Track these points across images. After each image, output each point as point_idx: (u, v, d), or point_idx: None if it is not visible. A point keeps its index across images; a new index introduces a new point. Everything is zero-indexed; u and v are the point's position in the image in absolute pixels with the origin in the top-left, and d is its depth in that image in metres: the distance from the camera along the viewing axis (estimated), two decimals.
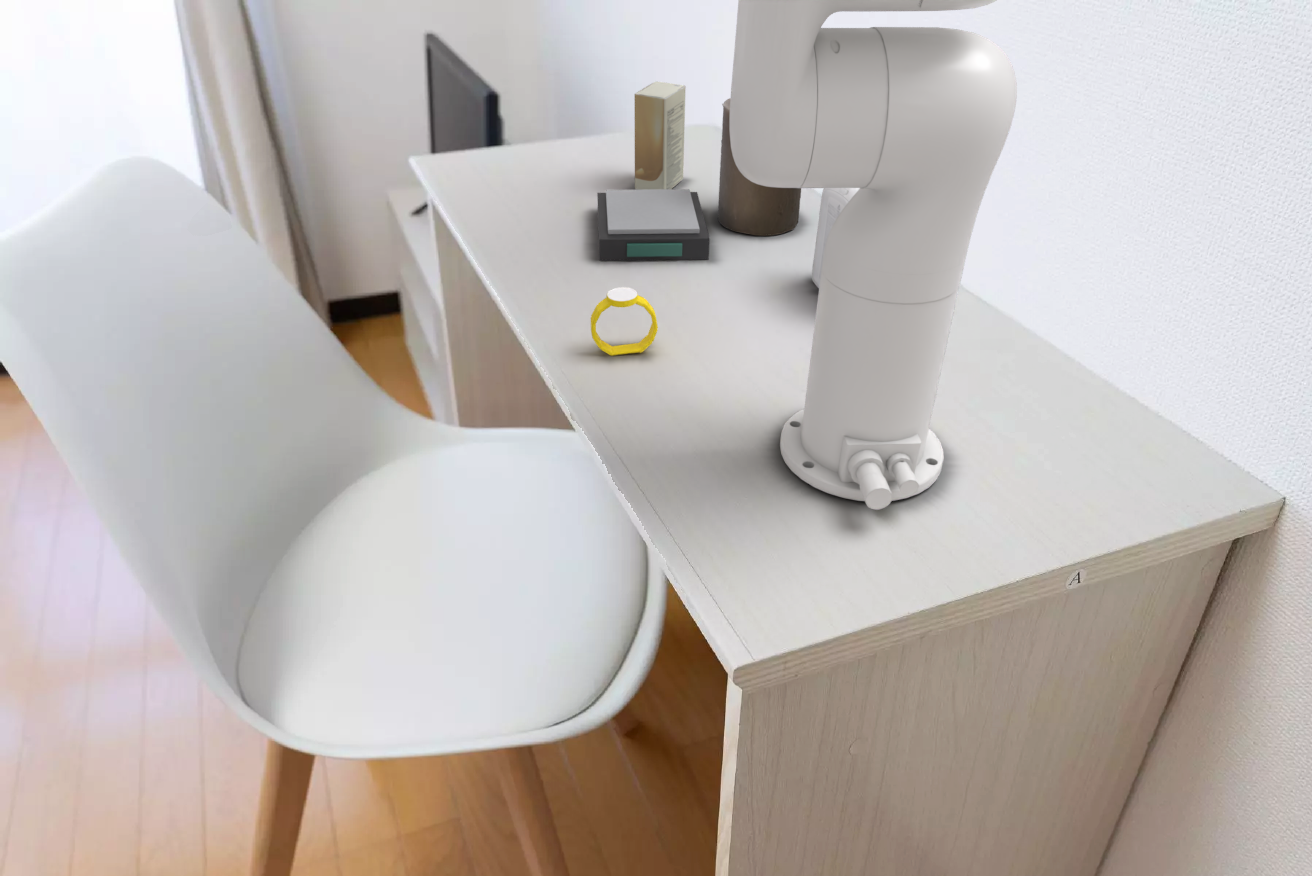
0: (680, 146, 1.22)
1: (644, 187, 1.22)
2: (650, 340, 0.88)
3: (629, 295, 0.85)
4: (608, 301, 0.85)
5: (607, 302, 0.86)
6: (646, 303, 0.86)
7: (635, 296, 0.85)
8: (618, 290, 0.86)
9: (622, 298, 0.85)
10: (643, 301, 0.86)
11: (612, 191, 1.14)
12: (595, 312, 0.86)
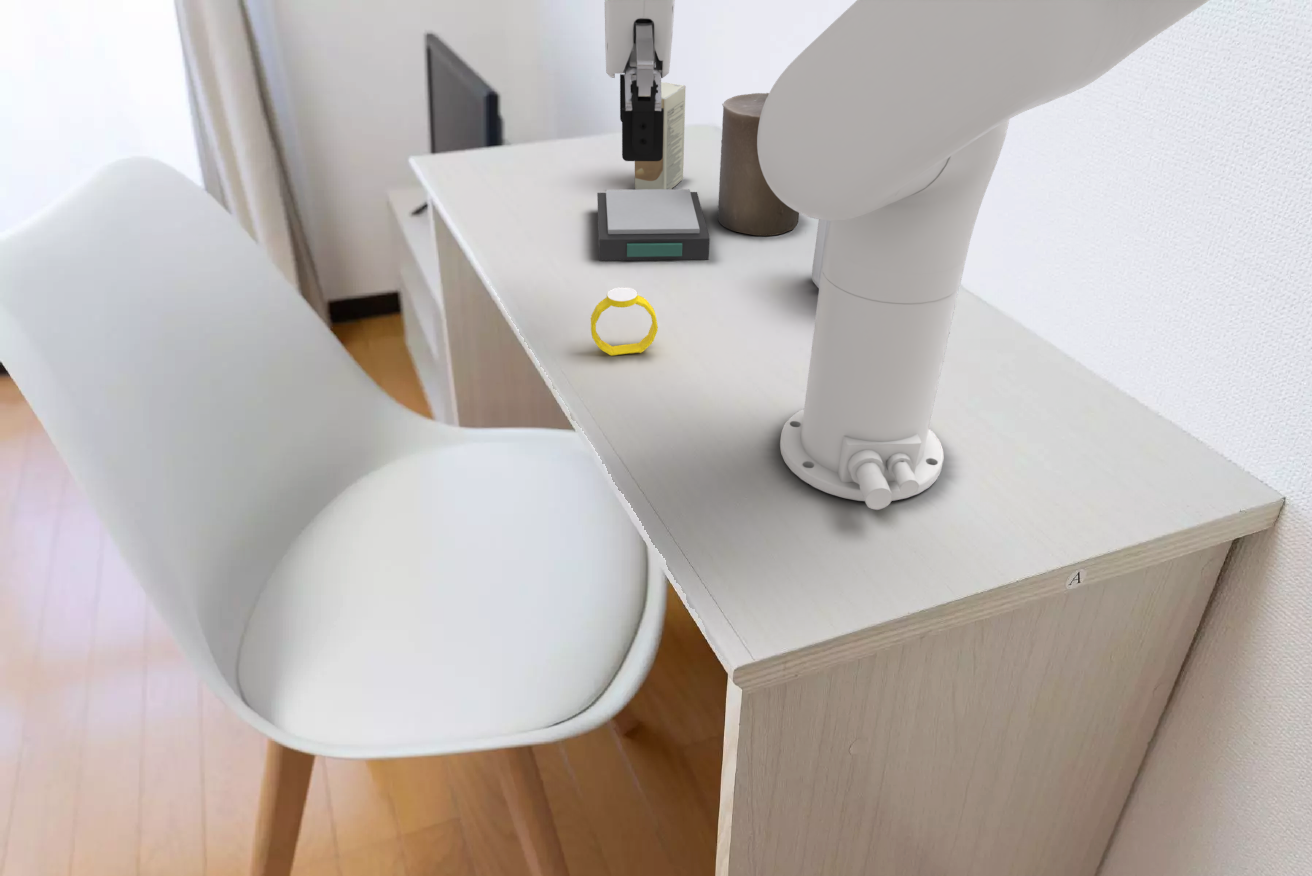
0: (680, 146, 1.22)
1: (644, 187, 1.22)
2: (650, 340, 0.88)
3: (629, 295, 0.85)
4: (608, 301, 0.85)
5: (607, 302, 0.86)
6: (646, 303, 0.86)
7: (635, 296, 0.85)
8: (618, 290, 0.86)
9: (622, 298, 0.85)
10: (644, 301, 0.86)
11: (612, 191, 1.14)
12: (595, 312, 0.86)
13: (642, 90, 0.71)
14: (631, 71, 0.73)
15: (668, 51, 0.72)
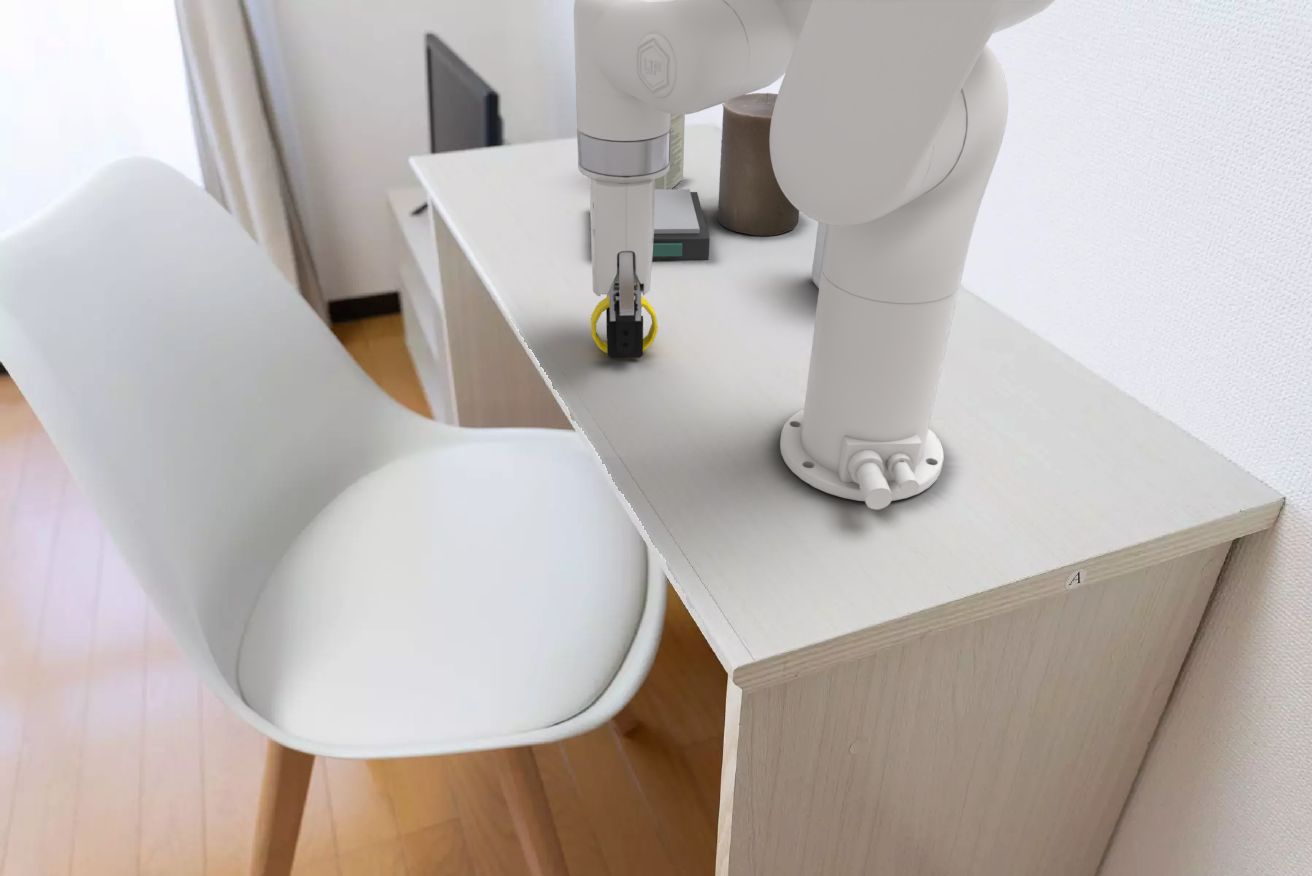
0: (680, 146, 1.22)
1: None
2: (650, 340, 0.88)
3: None
4: (608, 301, 0.85)
5: (607, 302, 0.86)
6: (646, 303, 0.86)
7: None
8: None
9: None
10: (644, 301, 0.86)
11: None
12: (595, 312, 0.86)
13: None
14: (615, 293, 0.83)
15: (648, 275, 0.80)
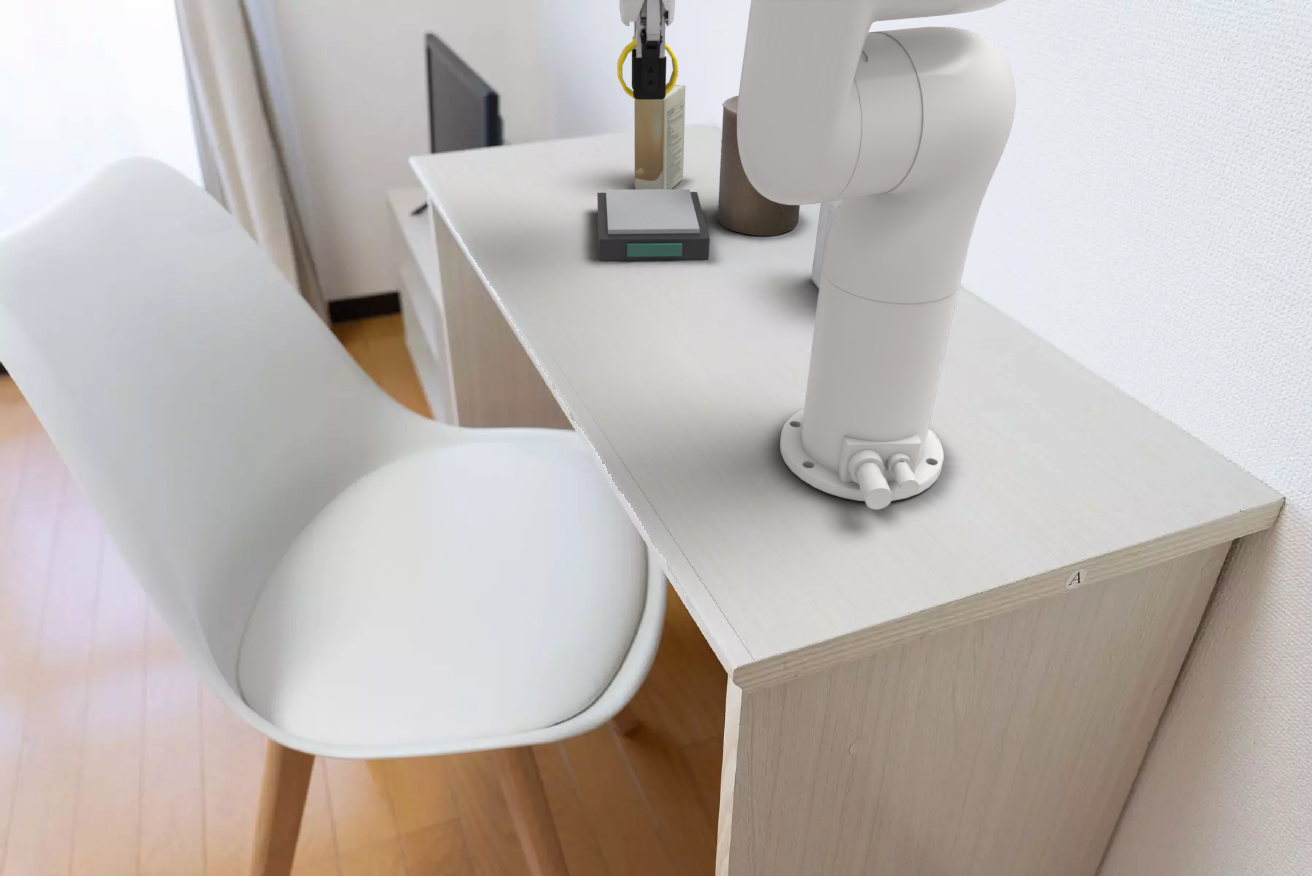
0: (680, 146, 1.22)
1: (644, 187, 1.22)
2: (671, 85, 0.97)
3: None
4: (634, 42, 0.94)
5: (633, 43, 0.94)
6: (668, 46, 0.95)
7: None
8: None
9: None
10: (666, 44, 0.95)
11: (612, 191, 1.14)
12: (622, 55, 0.95)
13: (650, 45, 0.91)
14: (641, 28, 0.92)
15: (673, 3, 0.89)
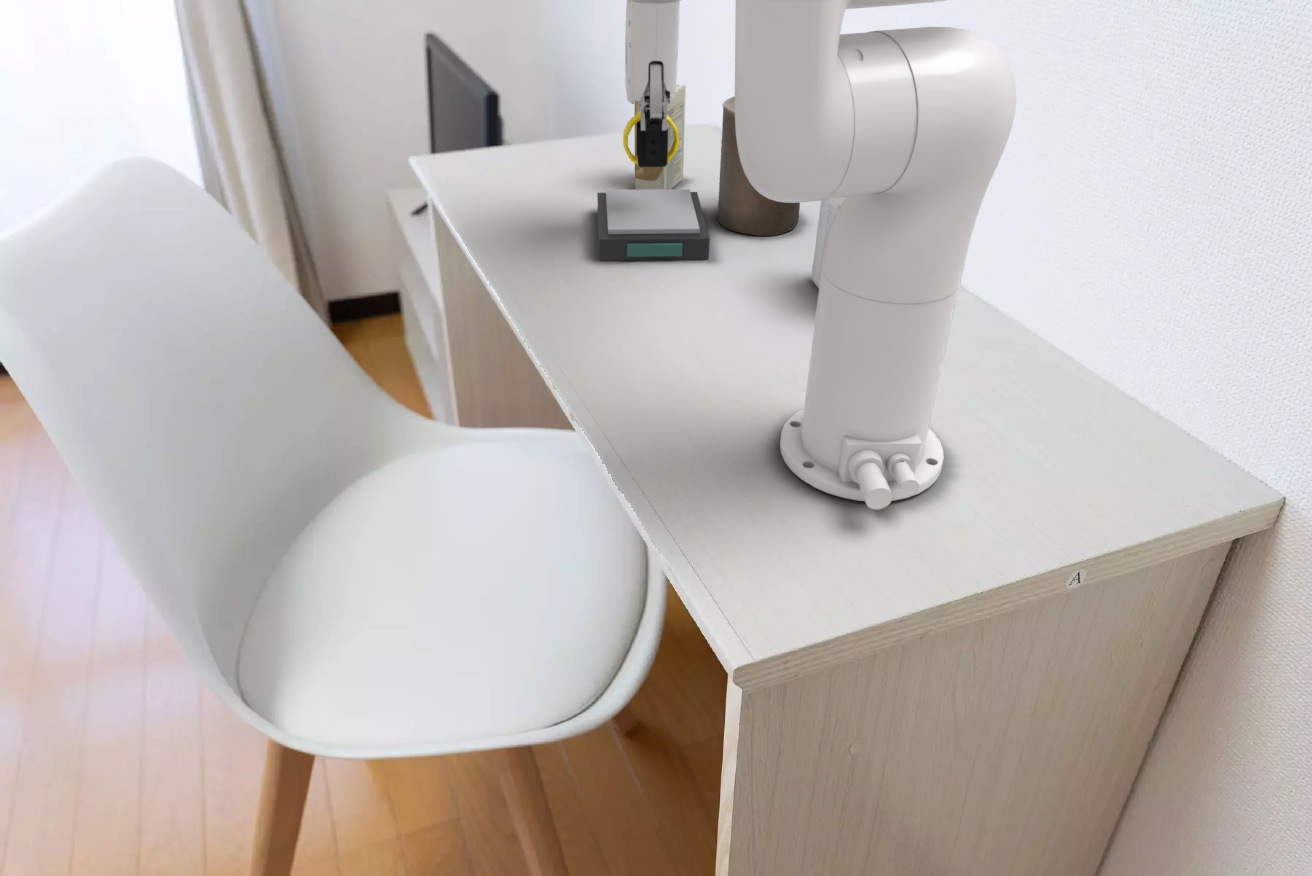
0: (680, 146, 1.22)
1: (644, 187, 1.22)
2: (672, 153, 1.06)
3: None
4: (638, 116, 1.03)
5: (637, 117, 1.03)
6: (670, 119, 1.04)
7: None
8: (646, 108, 1.04)
9: None
10: (667, 117, 1.04)
11: (612, 191, 1.14)
12: (628, 126, 1.04)
13: (653, 120, 1.00)
14: (645, 105, 1.00)
15: (674, 84, 0.97)
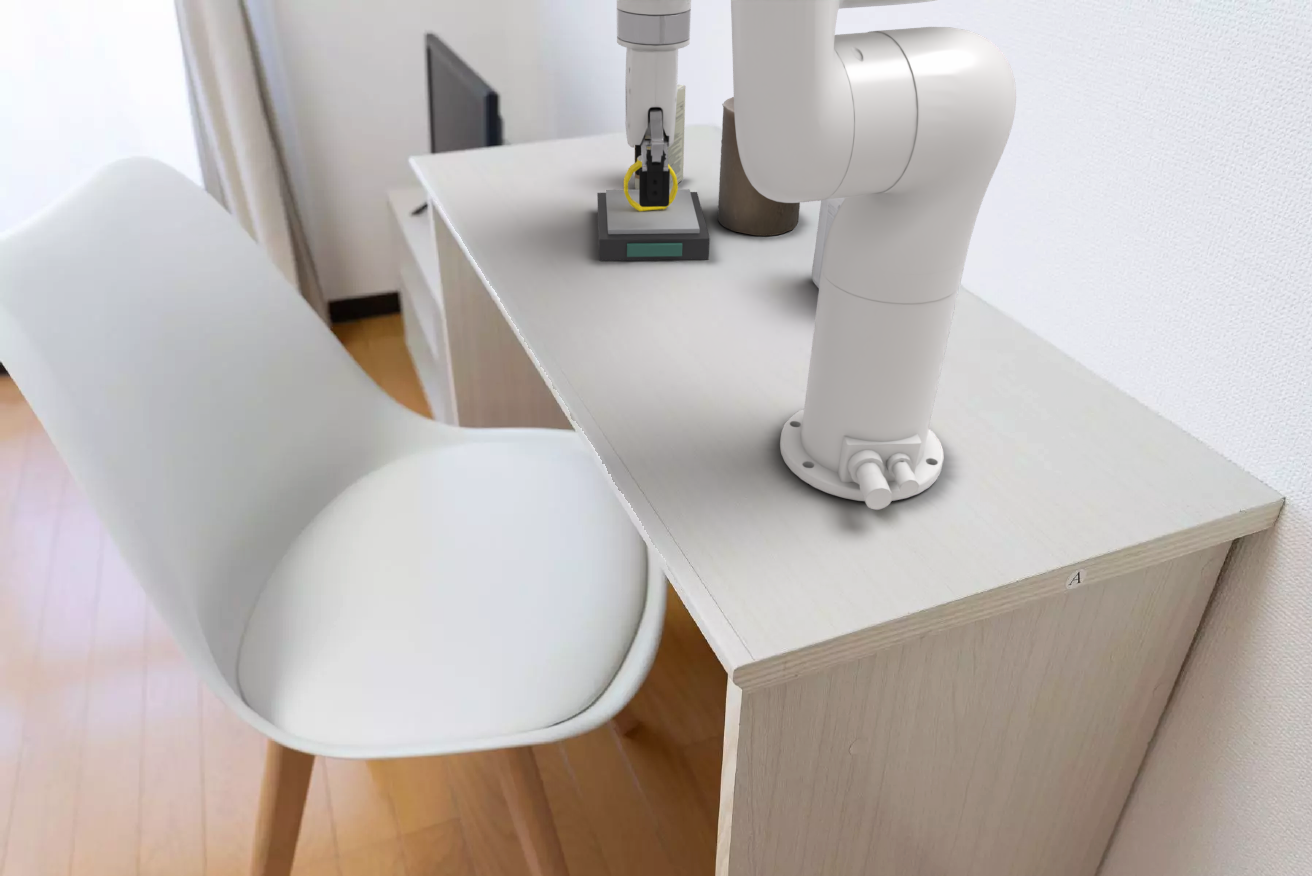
0: (680, 146, 1.22)
1: None
2: (671, 198, 1.09)
3: None
4: (638, 163, 1.06)
5: (637, 164, 1.06)
6: (669, 166, 1.07)
7: None
8: None
9: None
10: None
11: (612, 191, 1.14)
12: (628, 173, 1.07)
13: (655, 158, 0.98)
14: (646, 143, 1.01)
15: (673, 129, 1.00)
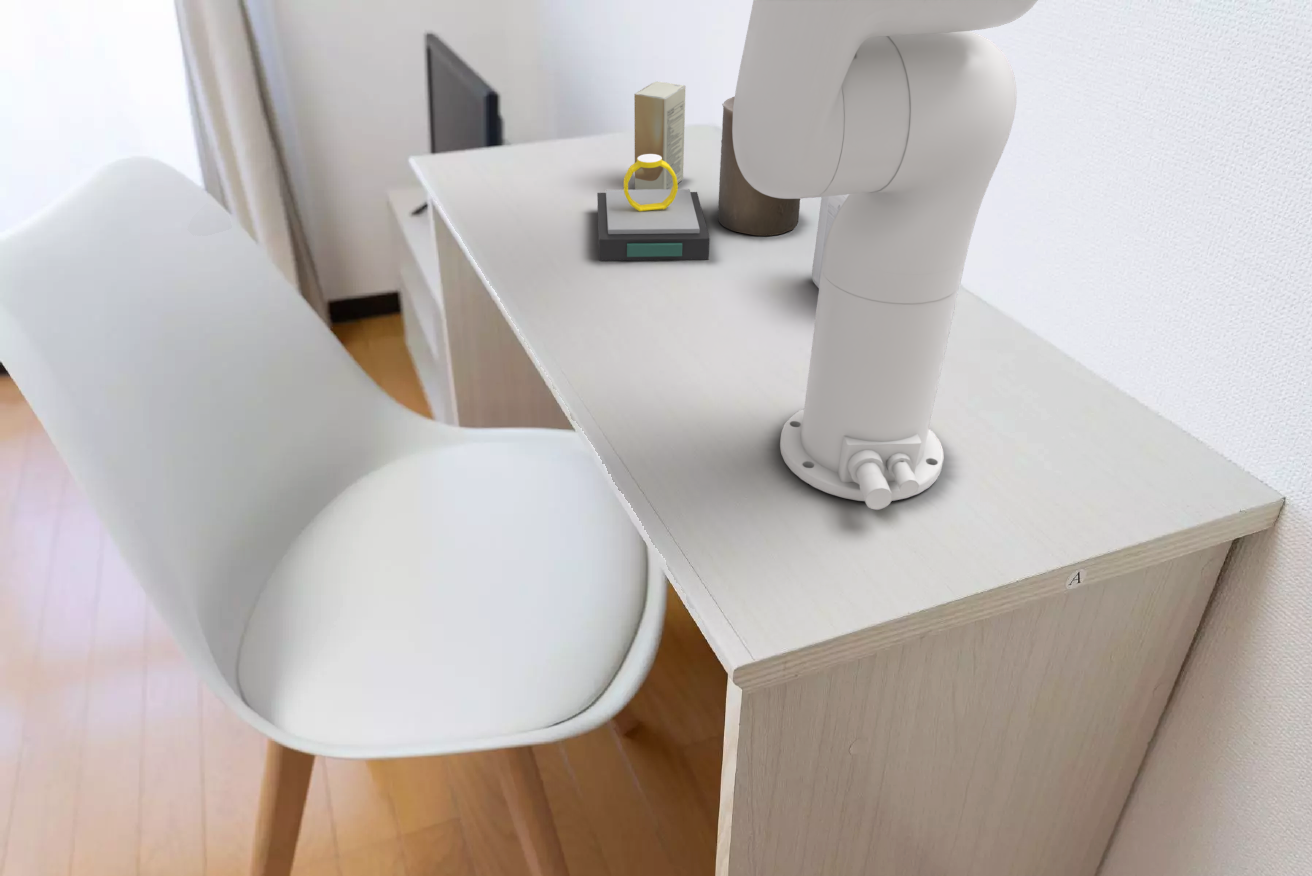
0: (680, 146, 1.22)
1: (644, 187, 1.22)
2: (671, 198, 1.09)
3: (655, 158, 1.06)
4: (638, 163, 1.06)
5: (637, 164, 1.06)
6: (669, 166, 1.07)
7: (660, 159, 1.06)
8: (646, 156, 1.07)
9: (649, 160, 1.06)
10: (667, 164, 1.07)
11: (612, 191, 1.14)
12: (628, 173, 1.07)
13: None
14: None
15: None
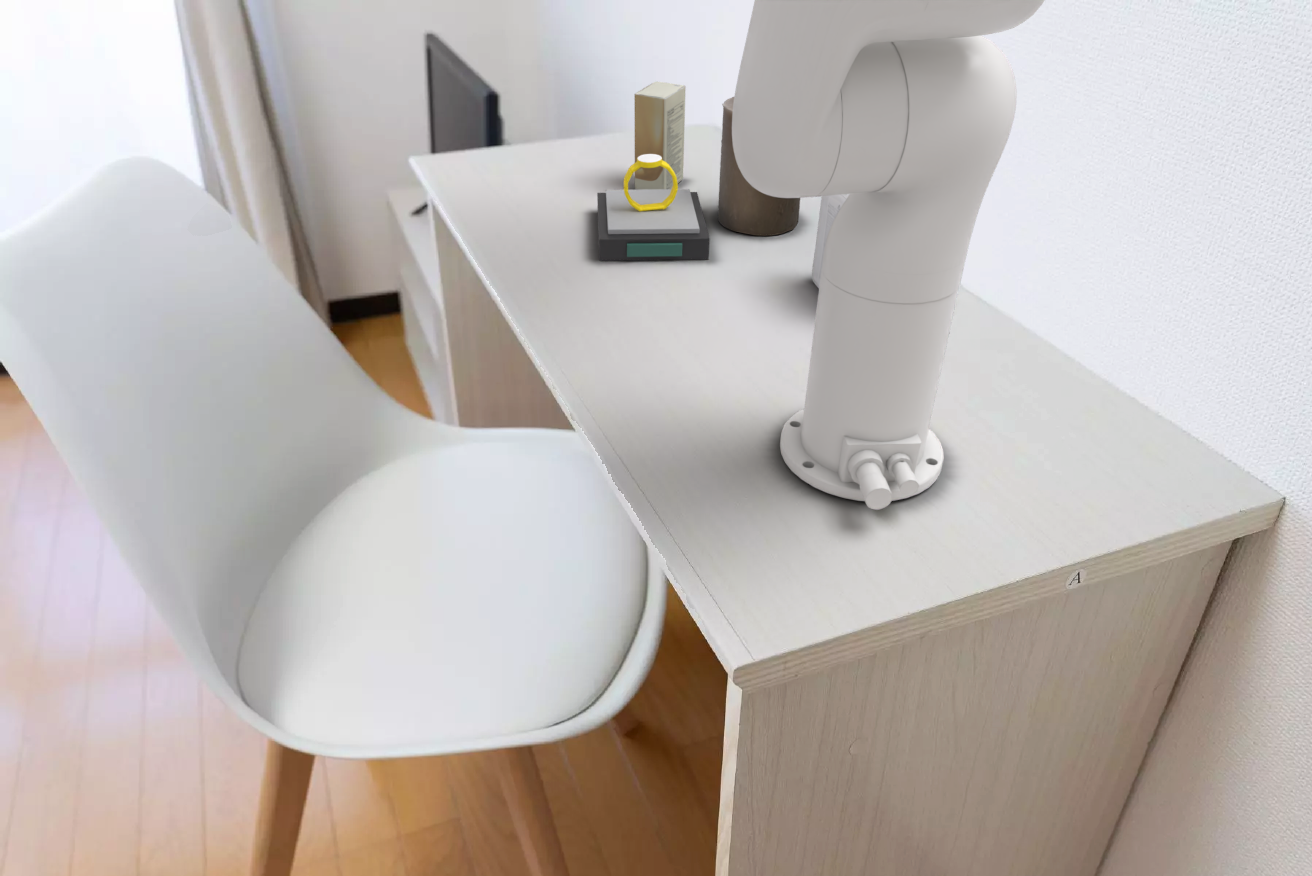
0: (680, 146, 1.22)
1: (644, 187, 1.22)
2: (671, 198, 1.09)
3: (655, 158, 1.06)
4: (638, 163, 1.06)
5: (637, 164, 1.06)
6: (669, 166, 1.07)
7: (660, 159, 1.06)
8: (646, 156, 1.07)
9: (649, 160, 1.06)
10: (667, 164, 1.07)
11: (612, 191, 1.14)
12: (628, 173, 1.07)
13: None
14: None
15: None
